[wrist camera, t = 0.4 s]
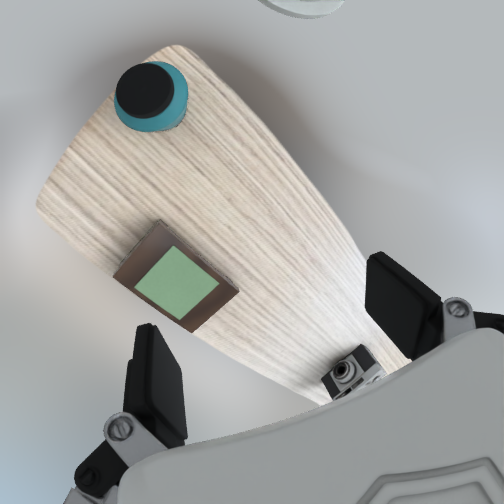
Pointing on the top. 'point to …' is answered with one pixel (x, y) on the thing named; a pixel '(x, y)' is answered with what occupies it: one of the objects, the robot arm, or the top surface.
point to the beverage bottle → (151, 97)
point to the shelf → (174, 278)
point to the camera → (353, 373)
